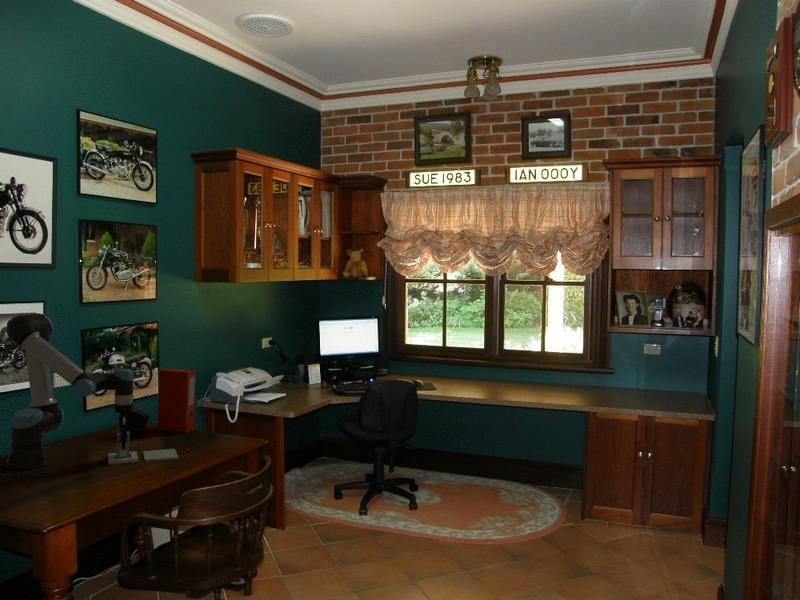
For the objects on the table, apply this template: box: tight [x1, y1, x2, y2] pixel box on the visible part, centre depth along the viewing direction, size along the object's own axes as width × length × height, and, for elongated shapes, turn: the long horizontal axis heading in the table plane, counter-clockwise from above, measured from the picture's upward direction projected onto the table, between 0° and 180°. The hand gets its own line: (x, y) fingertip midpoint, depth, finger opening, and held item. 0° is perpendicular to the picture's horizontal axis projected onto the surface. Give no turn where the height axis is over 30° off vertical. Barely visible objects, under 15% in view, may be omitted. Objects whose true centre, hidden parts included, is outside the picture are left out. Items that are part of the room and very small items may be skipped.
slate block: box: [116, 431, 131, 459], centre depth 290 cm, size 5×5×12 cm
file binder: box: [157, 367, 197, 433], centre depth 344 cm, size 8×17×32 cm, turn 75°
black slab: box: [127, 407, 150, 438], centre depth 328 cm, size 4×13×15 cm, turn 88°
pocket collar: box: [107, 451, 139, 465], centre depth 290 cm, size 12×12×2 cm
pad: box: [142, 448, 179, 463], centre depth 297 cm, size 14×14×1 cm
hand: (122, 454), depth 290 cm, fingers closed on slate block, 5 cm apart
